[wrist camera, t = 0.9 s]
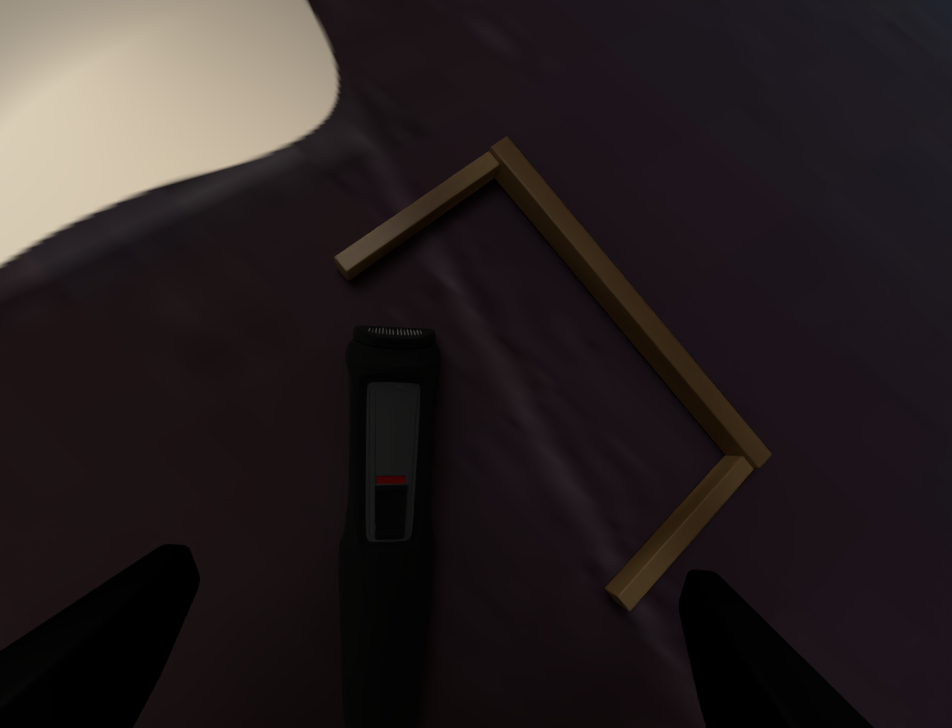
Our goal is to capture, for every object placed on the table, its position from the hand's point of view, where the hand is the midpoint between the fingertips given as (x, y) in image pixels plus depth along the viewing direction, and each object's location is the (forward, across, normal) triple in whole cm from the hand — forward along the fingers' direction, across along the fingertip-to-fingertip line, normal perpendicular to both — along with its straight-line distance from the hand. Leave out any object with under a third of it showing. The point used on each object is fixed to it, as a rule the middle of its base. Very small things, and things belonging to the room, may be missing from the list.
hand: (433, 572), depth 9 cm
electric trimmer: (+8, +3, +7) cm, 11 cm away
